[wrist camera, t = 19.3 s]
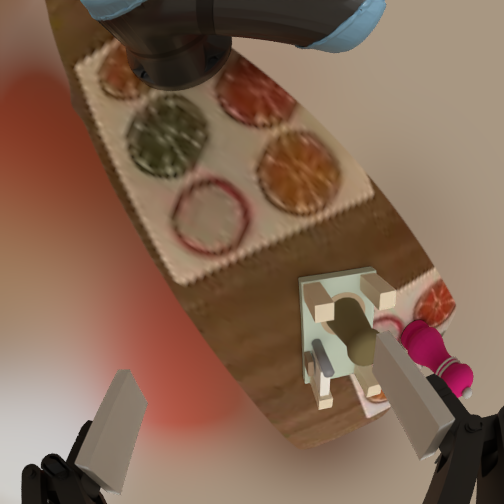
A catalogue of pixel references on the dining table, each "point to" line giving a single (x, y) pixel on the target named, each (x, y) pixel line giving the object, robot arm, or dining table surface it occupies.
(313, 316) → the stand
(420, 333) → the pepper mill
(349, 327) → the pepper shaker
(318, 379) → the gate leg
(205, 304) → the dining table surface
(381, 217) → the dining table surface
